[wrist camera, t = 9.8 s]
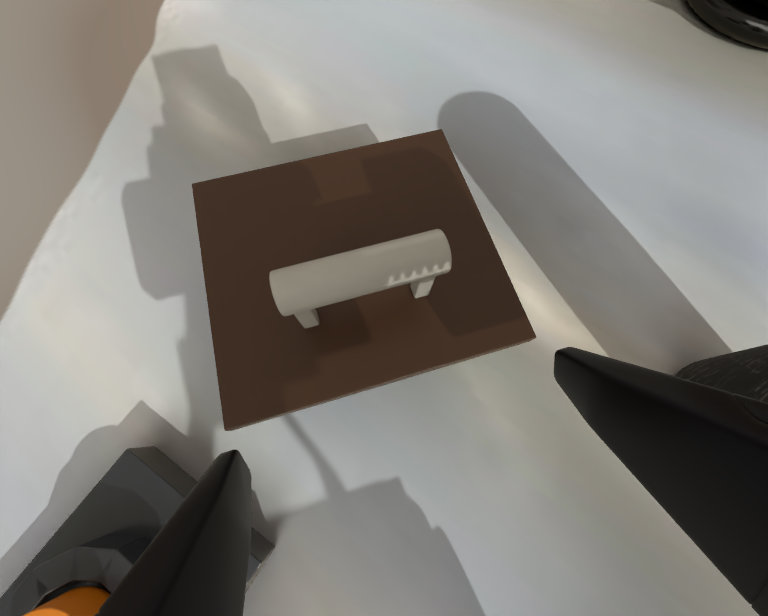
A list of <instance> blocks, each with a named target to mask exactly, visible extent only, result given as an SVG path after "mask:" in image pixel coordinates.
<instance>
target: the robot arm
mask: <svg viewBox="0 0 768 616" xmlns="http://www.w3.org/2000/svg"><path fill="white" fill-rule="evenodd" d="M554 377H555V379H556V381H557V383H558V384H559V385H560V387H561V388H562V389H563V391H564V392H565V393H566V395H567V396H568V398H569V399H570V400H571V402H572V403H573V404H574V406H575V407H576V408H577V410H578V411H579V412H580V414H581V415H582V417H583V418H584V419H585V420H586V422H587V423H588V424H589V426H590V427H591V428H592V429H593V430H594V431H595V433H596V434H597V435H598V436H599V437H600V438H601V439H602V440H603V441H604V443H605V444H606V445H607V446H608V447H609V448H610V449H611V450H612V451H613V453H614V454H615V455H616V456H617V457H618V458H619V459H620V460H621V462H622V463H623V464H624V465H625V466H626V467H627V468H628V469H629V470H630V472H631V473H632V474H633V475H634V476H635V477H636V478H637V479H638V480H639V482H640V483H641V484H642V485H643V486H644V487H645V488H646V489H647V490H648V492H649V493H650V494H651V495H652V496H653V497H654V498H655V499H656V500H657V502H658V503H659V504H660V505H661V506H662V507H663V508H664V509H665V510H666V512H667V513H668V514H669V515H670V516H671V517H672V518H673V519H674V521H675V522H676V523H677V524H678V525H679V526H680V527H681V528H682V529H683V531H684V532H685V533H686V534H687V535H688V536H689V537H690V538H691V539H692V541H693V542H694V543H695V544H696V545H697V546H698V547H699V548H700V549H701V551H702V552H703V553H704V554H705V555H706V556H707V557H708V558H709V559H710V561H711V562H712V563H713V564H714V565H715V566H716V567H717V568H718V569H719V571H720V572H721V573H722V574H723V575H724V576H725V577H726V578H727V580H728V581H729V582H730V583H731V584H732V585H733V586H734V587H735V588H736V590H737V591H738V592H739V593H740V594H741V595H742V596H743V597H744V598H745V600H746V601H747V602H748V603H749V604H752V608H753V609H754V610H755V611H756V612H757V613H758V614H759V616H768V403H766V402H763V401H759V400H755V399H752V398H748V397H745V396H741V395H738V394H731V393H730V392H727V391H724V390H720V389H717V388H713V387H710V386H706V385H703V384H699V383H696V382H692V381H689V380H685V379H682V378H678V377H675V376H671V375H668V374H664V373H661V372H657V371H654V370H650V369H647V368H643V367H640V366H636V365H633V364H629V363H626V362H622V361H619V360H615V359H612V358H608V357H605V356H601V355H598V354H594V353H591V352H587V351H584V350H580V349H577V348H573V347H567V348H563V349H560V350H557V351H556V353H555V359H554ZM250 544H251V473H250V470H249V468H248V466H247V464H246V463H245V461H244V459H243V457H242V456H241V454H240V452H239V451H238V450H231V451H228V452H225V453H222V454H220V455H219V456H218V457H217V458H216V460H215V461H214V462H213V463H212V465H211V466H210V467H209V469H208V470H207V471H206V472H205V474H204V475H203V476H202V478H201V479H200V480H199V481H198V483H197V484H196V485H195V487H194V488H193V489H192V490H191V492H190V493H189V494H188V496H187V497H186V498H185V499H184V501H183V502H182V503H181V505H180V506H179V507H178V508H177V510H176V511H175V512H174V514H173V515H172V516H171V517H170V519H169V520H168V521H167V523H166V524H165V525H164V526H163V528H162V529H161V530H160V532H159V533H158V534H157V535H156V537H155V538H154V539H153V540H152V542H151V543H150V544H149V546H148V547H147V548H146V549H145V551H144V552H143V553H142V555H141V556H140V557H139V558H138V560H137V561H136V562H135V564H134V565H133V566H132V567H131V569H130V570H129V571H128V573H127V574H126V575H125V576H124V578H123V579H122V580H121V582H120V583H119V584H118V585H117V587H116V588H115V589H114V591H113V592H112V593H111V594H110V596H109V597H108V598H107V600H106V601H105V602H104V603H103V605H102V606H101V607H100V609H99V613H96V614H95V615H94V616H243V608H244V599H245V590H246V581H247V572H248V563H249V554H250Z"/></svg>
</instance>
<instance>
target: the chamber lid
mask: <svg viewBox="0 0 768 616" xmlns="http://www.w3.org/2000/svg"><path fill="white" fill-rule="evenodd" d="M192 188H193V196H194V203H195V211H196V218H197V226H198V233H199V241H200V248H201V256H202V263H203V271H204V278H205V286H206V293H207V301H208V308H209V316H210V323H211V331H212V338H213V346H214V353H215V361H216V369H217V376H218V384H219V391H220V399H221V406H222V414H223V421H224V429H225V431H232V430H236V429H239V428H242V427H246V426H249V425H252V424H256V423H259V422H262V421H266V420H269V419H272V418H276V417H279V416H282V415H286V414H289V413H292V412H296V411H299V410H302V409H306V408H309V407H312V406H316V405H319V404H322V403H326V402H329V401H332V400H336V399H339V398H342V397H346V396H349V395H352V394H356V393H359V392H362V391H366V390H369V389H372V388H376V387H379V386H382V385H386V384H389V383H392V382H396V381H399V380H402V379H405V378H409V377H412V376H415V375H419V374H422V373H425V372H429V371H432V370H435V369H439V368H442V367H445V366H449V365H452V364H455V363H459V362H462V361H465V360H469V359H472V358H475V357H479V356H482V355H485V354H489V353H492V352H495V351H499V350H502V349H505V348H509V347H512V346H515V345H519V344H522V343H525V342H529V341H531V340H533V339H535V338H536V335H535V333H534V331H533V329H532V326H531V324H530V322H529V320H528V318H527V316H526V313H525V311H524V309H523V307H522V305H521V302H520V300H519V298H518V296H517V294H516V291H515V289H514V287H513V285H512V283H511V280H510V278H509V276H508V274H507V272H506V269H505V267H504V265H503V263H502V261H501V258H500V256H499V254H498V252H497V250H496V247H495V245H494V243H493V241H492V239H491V236H490V234H489V232H488V230H487V228H486V226H485V223H484V221H483V219H482V217H481V215H480V212H479V210H478V208H477V206H476V204H475V201H474V199H473V197H472V195H471V193H470V190H469V188H468V186H467V184H466V182H465V179H464V177H463V175H462V173H461V171H460V168H459V166H458V164H457V162H456V160H455V157H454V155H453V153H452V151H451V149H450V146H449V144H448V142H447V140H446V138H445V136H444V133H443V131H442V129H440V130H435V131H431V132H426V133H422V134H417V135H413V136H408V137H403V138H399V139H394V140H390V141H385V142H381V143H376V144H371V145H367V146H362V147H358V148H353V149H349V150H344V151H340V152H335V153H330V154H326V155H321V156H317V157H312V158H308V159H303V160H298V161H294V162H289V163H285V164H280V165H276V166H271V167H267V168H262V169H257V170H253V171H248V172H244V173H239V174H235V175H230V176H225V177H221V178H216V179H212V180H207V181H203V182H198V183H194V184H192Z"/></svg>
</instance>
